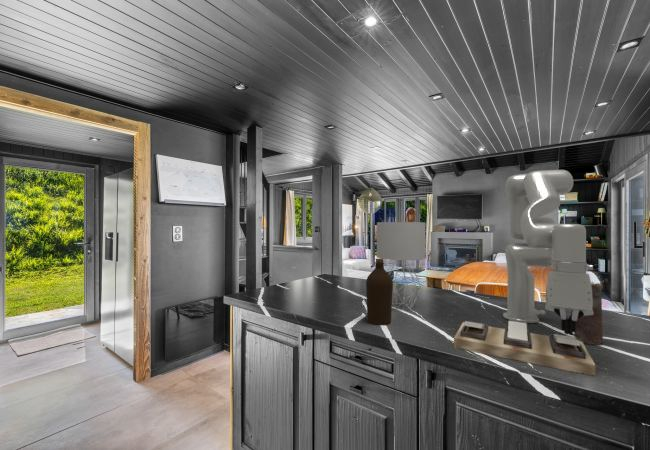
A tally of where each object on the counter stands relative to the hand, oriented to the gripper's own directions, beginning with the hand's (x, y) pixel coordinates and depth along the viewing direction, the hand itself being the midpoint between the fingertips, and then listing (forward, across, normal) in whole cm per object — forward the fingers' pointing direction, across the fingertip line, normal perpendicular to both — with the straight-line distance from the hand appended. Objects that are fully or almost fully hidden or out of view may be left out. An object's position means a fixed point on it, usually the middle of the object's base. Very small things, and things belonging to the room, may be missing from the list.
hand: (568, 333), depth 86 cm
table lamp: (+8, +59, -34) cm, 69 cm away
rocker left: (+4, +24, -4) cm, 25 cm away
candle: (+9, -8, -26) cm, 28 cm away
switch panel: (+8, +12, -4) cm, 15 cm away
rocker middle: (+4, +12, -4) cm, 13 cm away
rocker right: (+4, 0, -4) cm, 6 cm away
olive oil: (+9, +59, -6) cm, 60 cm away
